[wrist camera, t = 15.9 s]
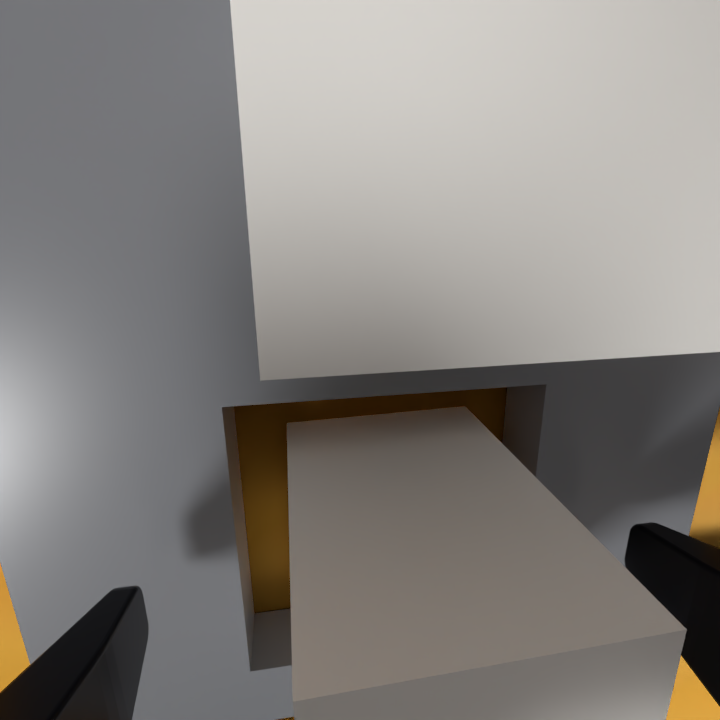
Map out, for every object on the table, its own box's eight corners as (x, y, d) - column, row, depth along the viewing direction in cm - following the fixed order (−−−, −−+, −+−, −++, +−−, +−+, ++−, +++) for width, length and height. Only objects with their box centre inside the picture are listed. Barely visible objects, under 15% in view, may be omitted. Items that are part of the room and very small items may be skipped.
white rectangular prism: (464, 405, 10) (687, 629, 5) (458, 551, 12) (629, 872, 6) (286, 422, 10) (291, 700, 4) (299, 574, 11) (317, 955, 5)
